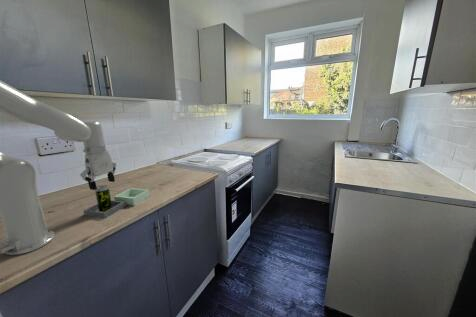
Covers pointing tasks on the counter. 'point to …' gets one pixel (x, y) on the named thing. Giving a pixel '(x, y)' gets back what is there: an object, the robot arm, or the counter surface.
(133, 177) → the counter surface
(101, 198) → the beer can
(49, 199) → the counter surface
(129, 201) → the green bin
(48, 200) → the counter surface
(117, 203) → the tray
